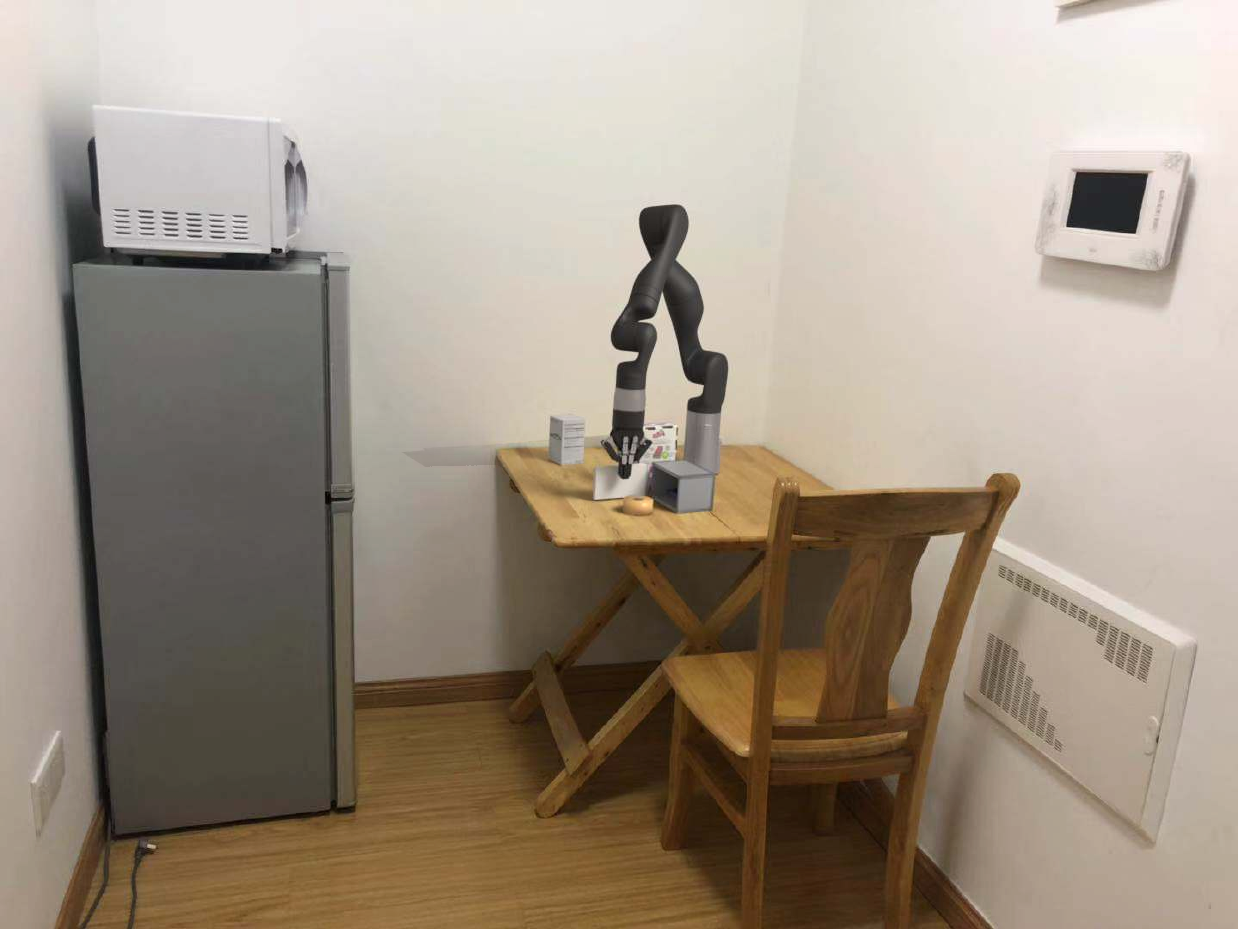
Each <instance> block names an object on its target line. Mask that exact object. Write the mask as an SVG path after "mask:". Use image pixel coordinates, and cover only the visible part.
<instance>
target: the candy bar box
mask: <svg viewBox="0 0 1238 929" xmlns="http://www.w3.org/2000/svg"><path fill="white" fill-rule="evenodd" d="M643 431H644V436H645V437H646V438H647V439H649V440H651V441H652V444H651V446H650V447H649V448H648V450H647V451H646V452H645V453H644V455H643V456H642V457H641V459H640V460H639V461H635V462H633V463H632V464H639V463H650V464H651V465H650V480H649V491H651V476H652V462H657V461H673V460H677V450H678V433H679V432H678V431H679V426H678V424H677V425H676V424H674V423H672V422H667V421H666V422H654V423H653V422H651V423H644V427H643ZM639 445H640V443H639V444H638V446H639ZM638 446H637V447H638ZM637 447H636V449H637Z"/></svg>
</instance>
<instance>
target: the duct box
mask: <svg viewBox="0 0 1238 929" xmlns="http://www.w3.org/2000/svg"><path fill="white" fill-rule="evenodd" d="M716 475H717V474H715V473H713V472H711V471H709V470H707V469H705V468H702V467H700V466H698V465H696V464H694V463H692V462H690V461H688V460H683V459H678V460H677V459H676V460H673V461H657V462H652V476H651V490H649V491H650V492H649V497H651V498H653V501H655V502H657V503H659V504H661V505H662V506H663V507H666V508H667V509H669V510H671V511H672V512H674V513H676V514H688V513H699V512H708V511H709V512H711V511H713V508H714V496H715V485H716V483H715V482H716Z"/></svg>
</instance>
